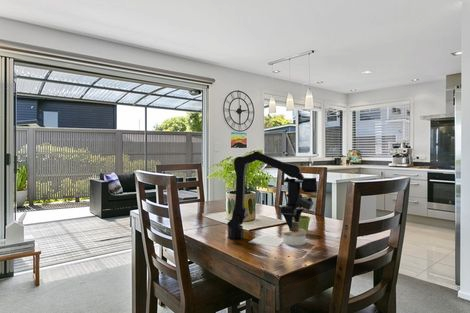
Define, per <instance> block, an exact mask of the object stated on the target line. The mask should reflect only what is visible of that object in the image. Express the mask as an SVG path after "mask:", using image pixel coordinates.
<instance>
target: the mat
mask: <svg viewBox="0 0 470 313" xmlns="http://www.w3.org/2000/svg"><path fill="white" fill-rule="evenodd" d="M248 243H250V244H257V245H262V246H269V247H274V248H275V247H276V248H277V247H279V246H280V245H281V244H284V243H283V237H276V236H270V235H263V234H261V235H259V236H257V237H255V238H253V239H251V240H249V241H248Z"/></svg>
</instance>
